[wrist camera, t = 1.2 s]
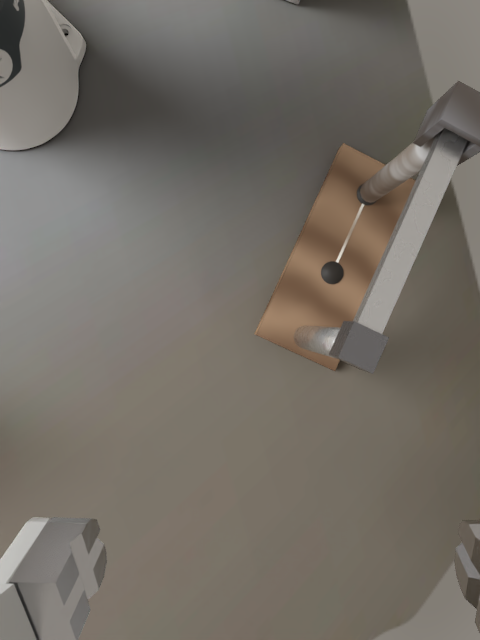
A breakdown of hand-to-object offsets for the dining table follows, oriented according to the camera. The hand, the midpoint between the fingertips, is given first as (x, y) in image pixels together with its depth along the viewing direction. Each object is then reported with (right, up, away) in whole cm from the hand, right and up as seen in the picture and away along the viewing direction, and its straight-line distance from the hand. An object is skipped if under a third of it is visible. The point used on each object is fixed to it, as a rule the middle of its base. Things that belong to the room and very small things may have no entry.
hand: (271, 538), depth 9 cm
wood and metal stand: (+10, +12, +38) cm, 42 cm away
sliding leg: (+10, +12, +37) cm, 40 cm away
